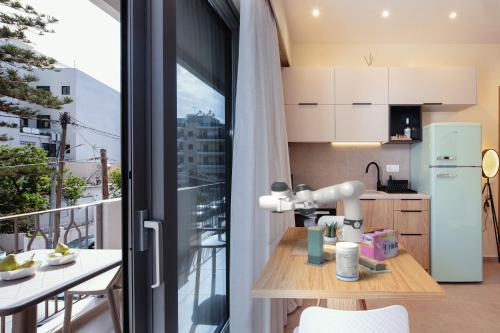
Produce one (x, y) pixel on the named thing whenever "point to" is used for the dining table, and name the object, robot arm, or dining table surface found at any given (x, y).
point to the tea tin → (315, 245)
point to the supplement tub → (347, 261)
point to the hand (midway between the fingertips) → (308, 205)
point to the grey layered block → (372, 265)
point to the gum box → (380, 244)
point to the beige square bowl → (329, 252)
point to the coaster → (315, 264)
